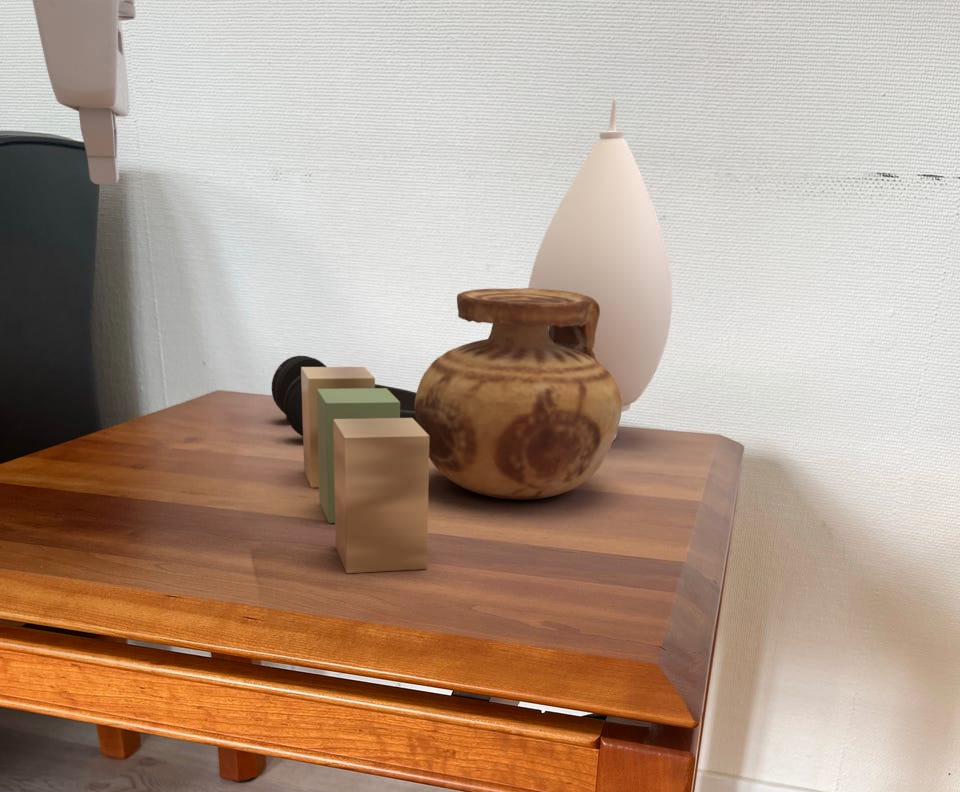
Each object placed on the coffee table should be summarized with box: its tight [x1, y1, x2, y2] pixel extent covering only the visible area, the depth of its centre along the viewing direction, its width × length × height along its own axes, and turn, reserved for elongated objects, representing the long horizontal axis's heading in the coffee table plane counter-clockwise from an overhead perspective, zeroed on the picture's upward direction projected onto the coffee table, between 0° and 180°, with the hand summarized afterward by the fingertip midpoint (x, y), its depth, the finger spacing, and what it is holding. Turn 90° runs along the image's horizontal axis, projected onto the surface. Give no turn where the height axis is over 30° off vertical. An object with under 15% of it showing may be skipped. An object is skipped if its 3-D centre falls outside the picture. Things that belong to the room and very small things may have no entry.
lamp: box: [527, 97, 673, 436], centre depth 112 cm, size 16×16×35 cm
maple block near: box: [333, 418, 430, 574], centre depth 76 cm, size 6×6×10 cm
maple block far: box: [301, 366, 376, 489], centre depth 96 cm, size 6×6×10 cm
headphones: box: [271, 355, 417, 437], centre depth 117 cm, size 17×7×20 cm
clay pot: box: [415, 287, 622, 501], centre depth 94 cm, size 19×19×20 cm
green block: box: [317, 388, 400, 524], centre depth 86 cm, size 6×6×10 cm
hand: (105, 184), depth 73 cm, fingers closed
